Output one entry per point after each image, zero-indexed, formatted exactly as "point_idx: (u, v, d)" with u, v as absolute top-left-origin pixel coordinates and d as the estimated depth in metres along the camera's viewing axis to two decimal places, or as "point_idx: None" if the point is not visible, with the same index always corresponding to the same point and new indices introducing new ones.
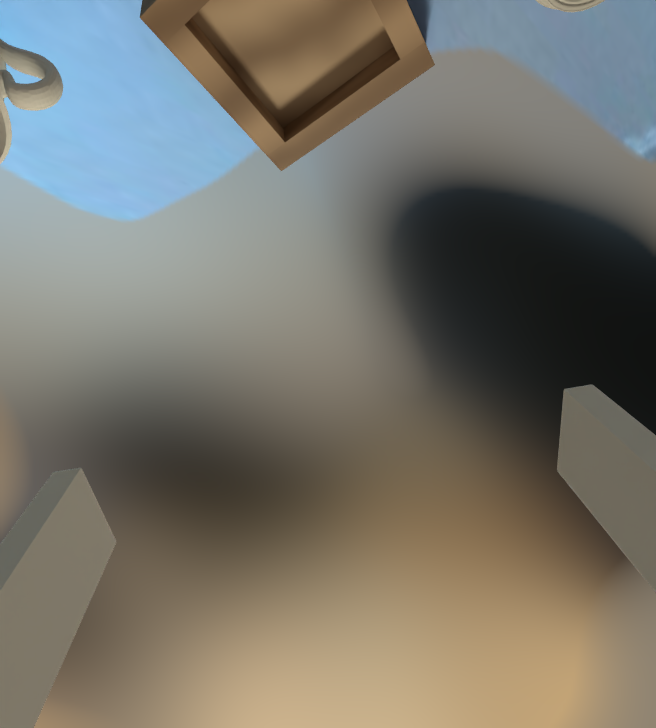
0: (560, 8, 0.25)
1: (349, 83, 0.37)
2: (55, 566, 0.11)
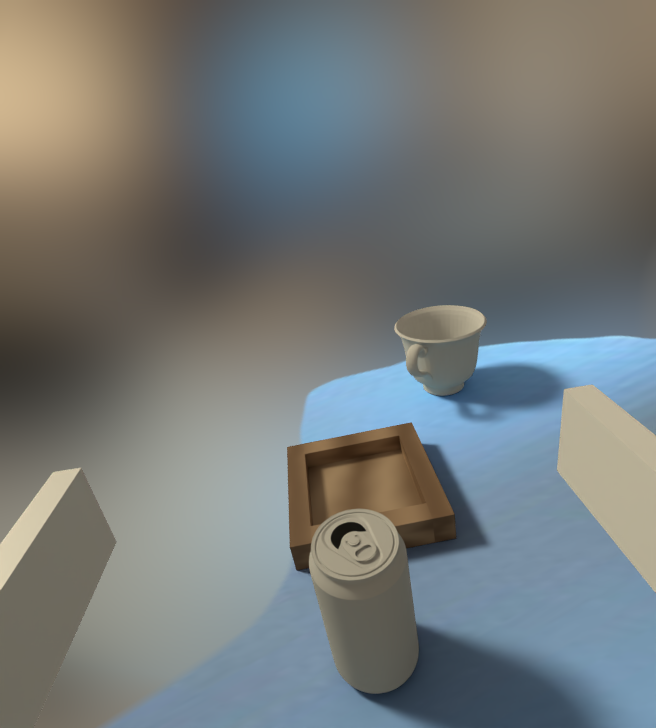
0: (324, 522, 0.31)
1: (310, 505, 0.47)
2: (55, 566, 0.11)
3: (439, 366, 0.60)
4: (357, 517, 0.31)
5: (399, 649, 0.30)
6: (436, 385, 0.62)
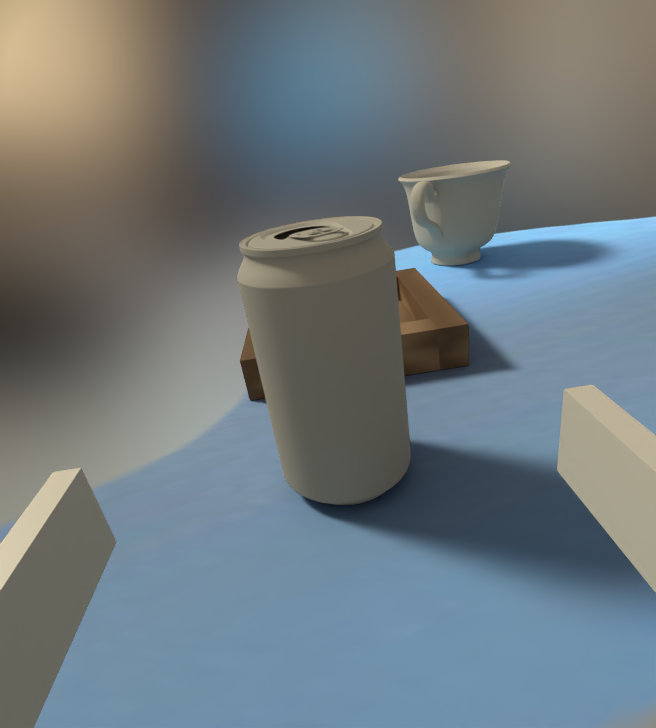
0: (269, 229, 0.20)
1: None
2: (55, 566, 0.11)
3: (451, 217, 0.49)
4: (320, 223, 0.20)
5: (378, 420, 0.19)
6: (447, 247, 0.51)
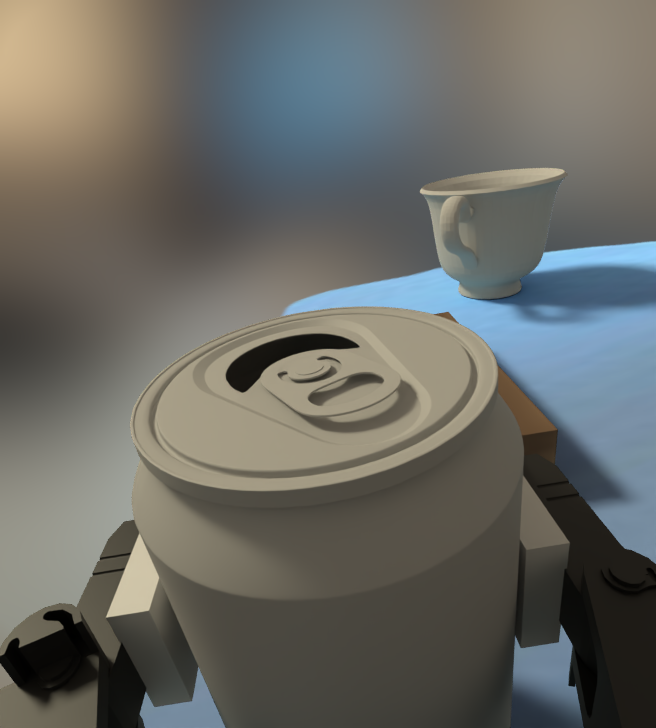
0: (223, 337, 0.09)
1: None
2: None
3: (490, 240, 0.38)
4: (332, 324, 0.09)
5: None
6: (482, 277, 0.40)
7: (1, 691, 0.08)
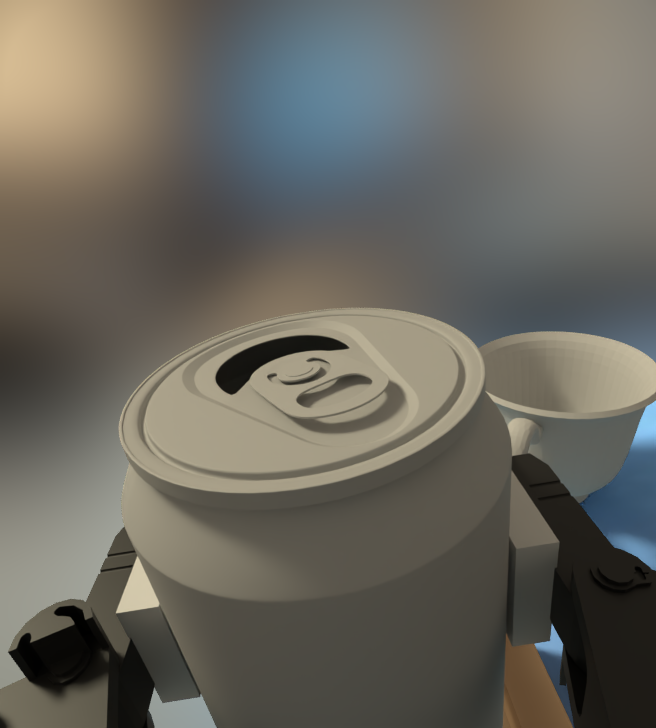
0: (213, 339, 0.09)
1: None
2: None
3: (562, 461, 0.29)
4: (322, 325, 0.09)
5: None
6: None
7: (11, 686, 0.08)
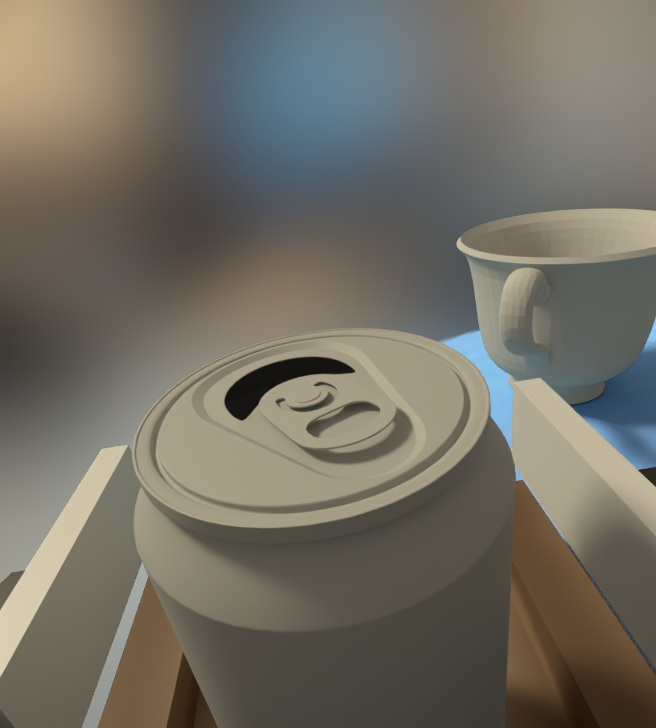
0: (220, 359, 0.09)
1: None
2: (111, 534, 0.11)
3: (574, 332, 0.24)
4: (328, 346, 0.09)
5: None
6: (555, 380, 0.26)
7: None
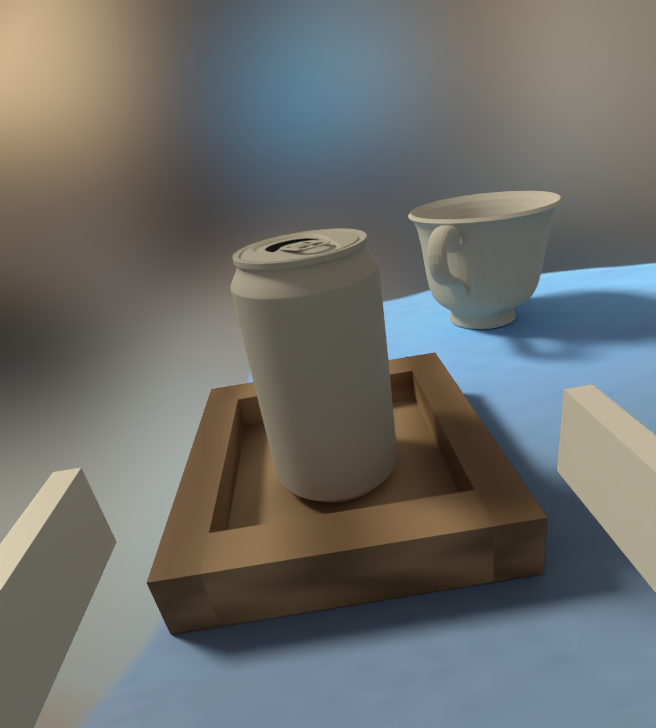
0: (260, 241, 0.21)
1: (230, 490, 0.23)
2: (55, 566, 0.11)
3: (482, 271, 0.36)
4: (308, 235, 0.21)
5: (366, 421, 0.20)
6: (474, 308, 0.38)
7: None
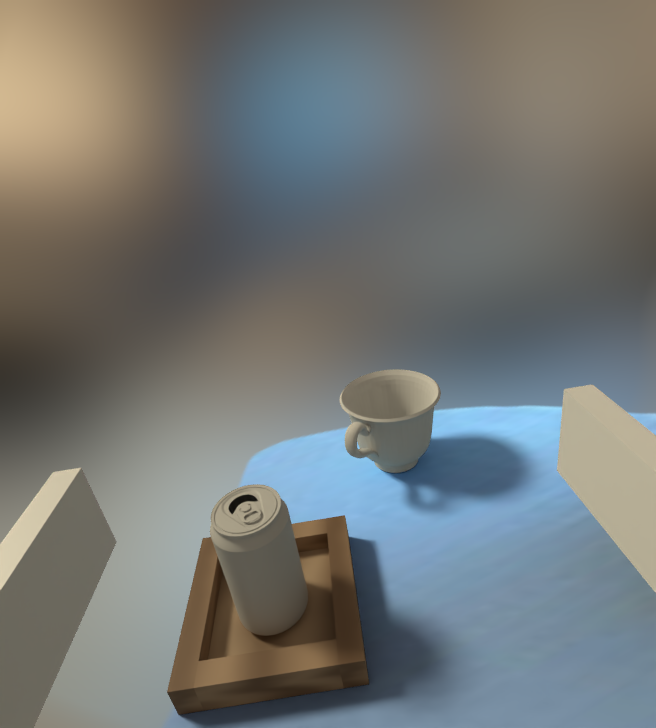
0: (227, 494, 0.39)
1: (212, 623, 0.41)
2: (55, 566, 0.11)
3: (385, 445, 0.53)
4: (253, 491, 0.39)
5: (282, 597, 0.38)
6: (383, 463, 0.55)
7: None
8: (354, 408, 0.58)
